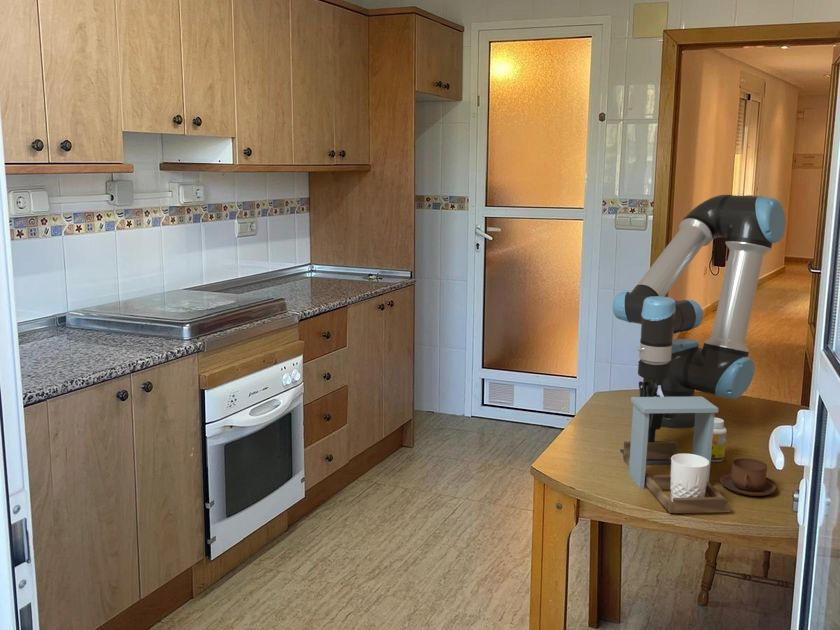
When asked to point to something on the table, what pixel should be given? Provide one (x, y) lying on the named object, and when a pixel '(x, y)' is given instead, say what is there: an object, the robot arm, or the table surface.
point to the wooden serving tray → (664, 481)
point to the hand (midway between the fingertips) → (647, 452)
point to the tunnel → (669, 405)
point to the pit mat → (655, 461)
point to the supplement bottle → (718, 440)
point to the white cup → (688, 476)
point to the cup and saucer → (748, 478)
